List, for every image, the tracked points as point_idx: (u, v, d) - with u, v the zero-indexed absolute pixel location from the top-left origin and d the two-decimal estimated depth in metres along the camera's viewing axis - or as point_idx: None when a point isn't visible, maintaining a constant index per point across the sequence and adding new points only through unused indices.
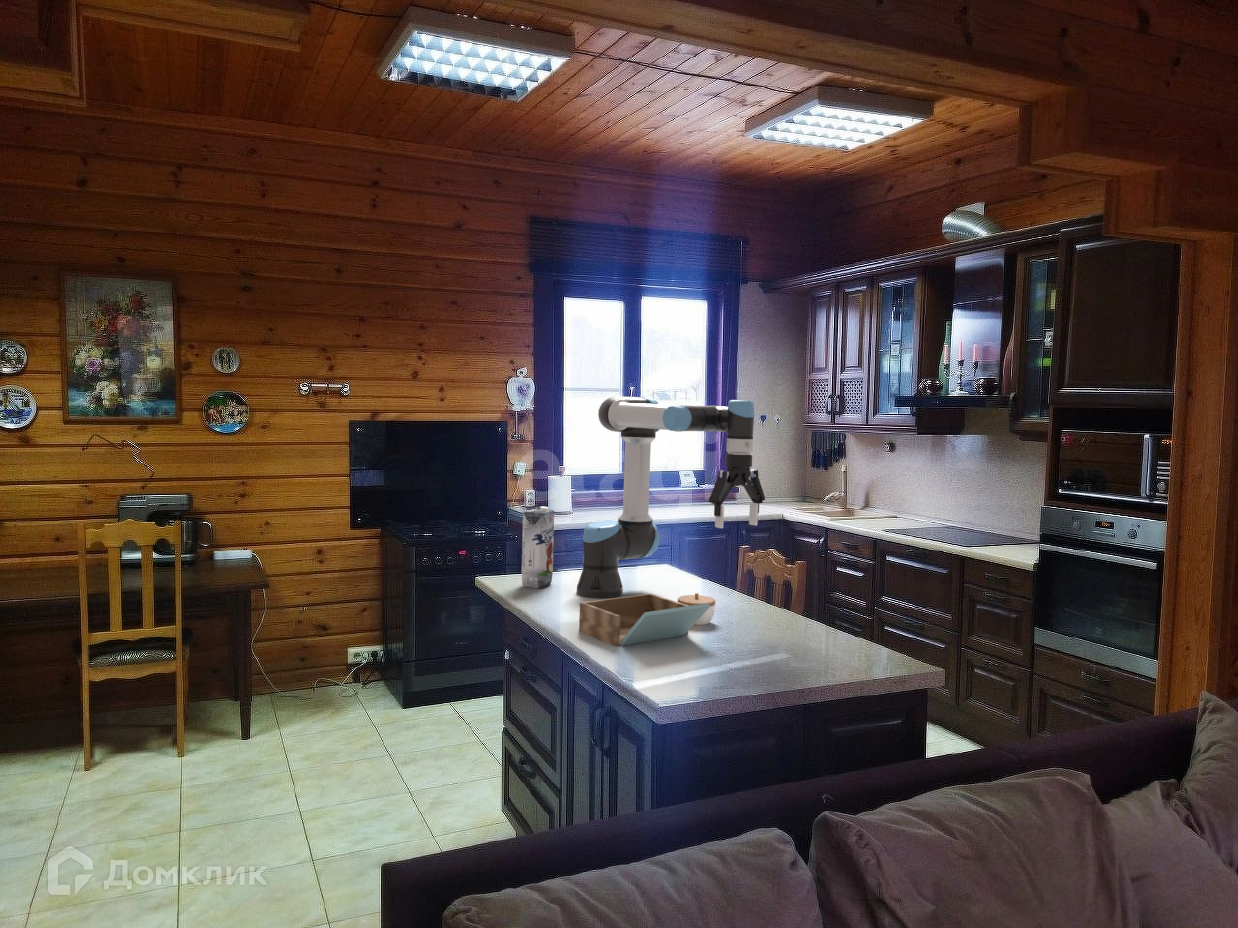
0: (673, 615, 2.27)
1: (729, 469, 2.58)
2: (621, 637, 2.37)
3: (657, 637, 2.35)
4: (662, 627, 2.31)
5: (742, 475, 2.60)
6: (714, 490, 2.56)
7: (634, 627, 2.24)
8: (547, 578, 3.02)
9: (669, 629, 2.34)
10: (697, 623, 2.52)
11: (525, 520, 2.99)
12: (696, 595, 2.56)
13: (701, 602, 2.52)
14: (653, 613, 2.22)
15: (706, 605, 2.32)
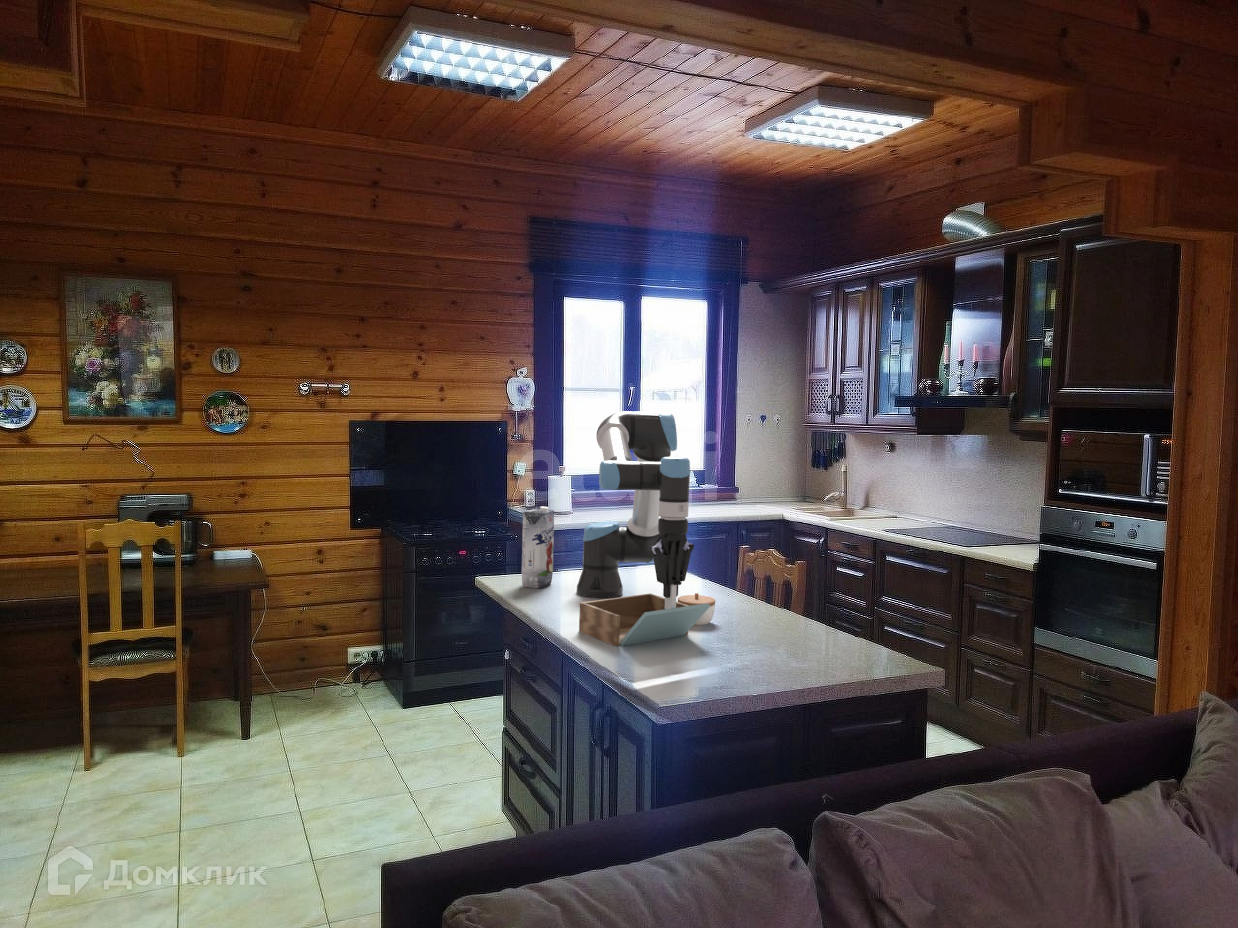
0: (673, 615, 2.27)
1: (661, 536, 2.26)
2: (621, 637, 2.37)
3: (657, 637, 2.35)
4: (662, 627, 2.31)
5: (677, 541, 2.28)
6: (657, 569, 2.26)
7: (634, 627, 2.24)
8: (547, 578, 3.02)
9: (669, 629, 2.34)
10: (697, 623, 2.52)
11: (525, 520, 2.99)
12: (696, 595, 2.56)
13: (701, 602, 2.52)
14: (653, 613, 2.22)
15: (706, 605, 2.32)
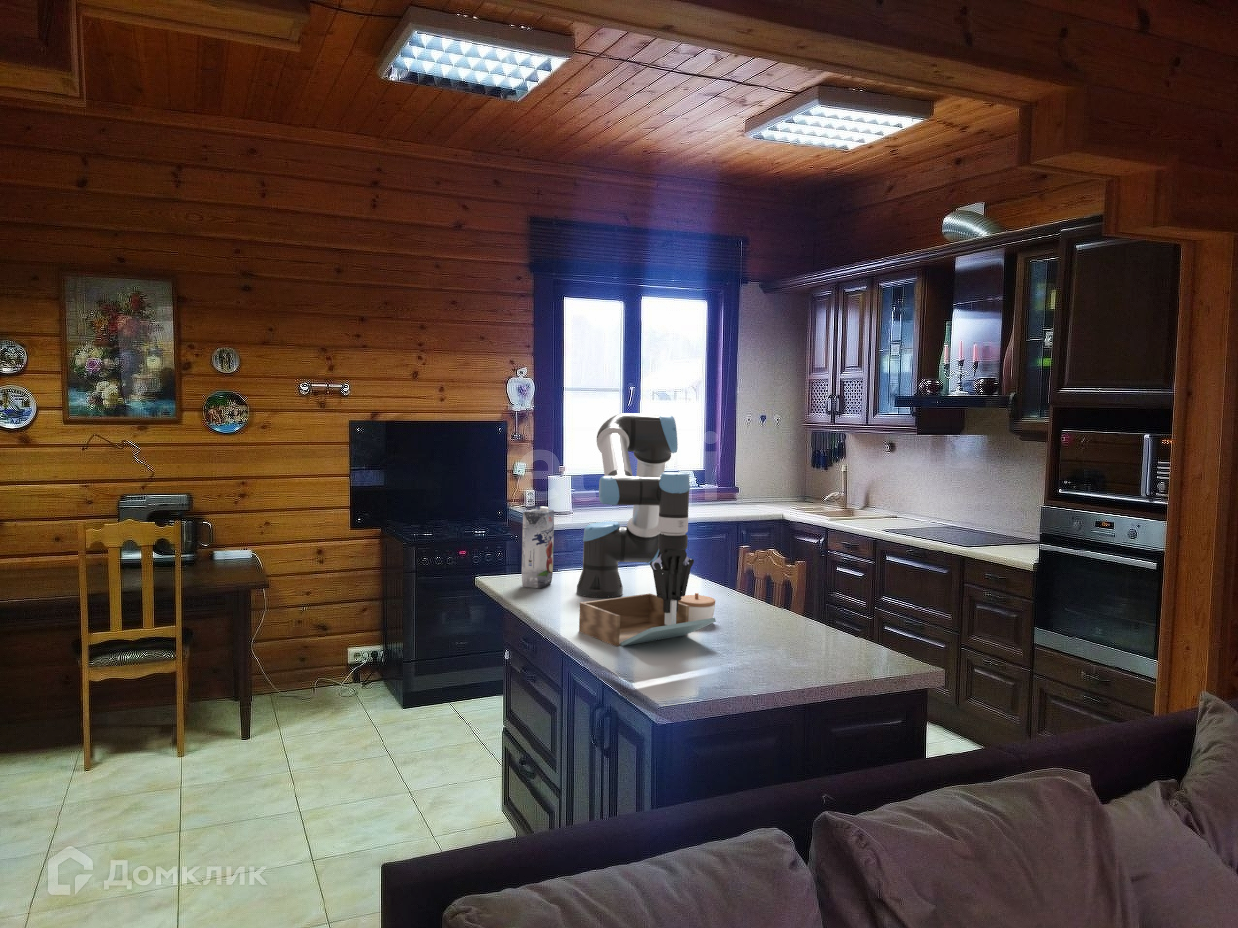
0: (678, 628, 2.26)
1: (661, 552, 2.26)
2: (621, 637, 2.37)
3: (657, 639, 2.35)
4: (664, 634, 2.30)
5: (677, 556, 2.28)
6: (657, 585, 2.26)
7: (637, 636, 2.23)
8: (547, 578, 3.02)
9: (671, 634, 2.33)
10: None
11: (525, 520, 2.99)
12: (696, 595, 2.56)
13: (701, 602, 2.52)
14: (659, 629, 2.20)
15: (712, 620, 2.30)
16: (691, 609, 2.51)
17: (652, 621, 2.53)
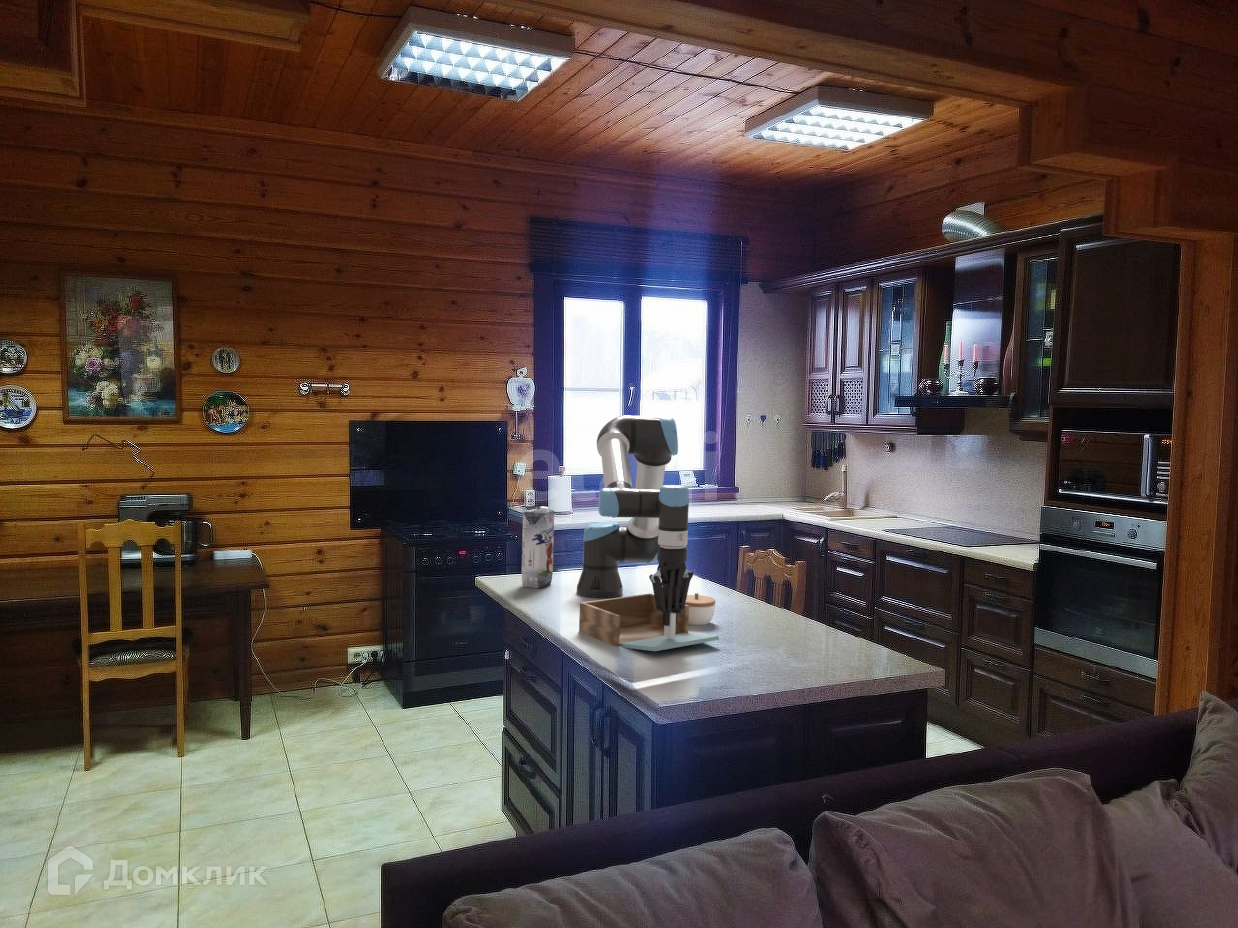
0: None
1: (660, 565, 2.26)
2: (621, 637, 2.37)
3: None
4: None
5: (676, 569, 2.28)
6: (656, 598, 2.27)
7: (639, 647, 2.23)
8: (547, 578, 3.02)
9: None
10: (697, 623, 2.52)
11: (525, 520, 2.99)
12: (696, 595, 2.56)
13: (701, 601, 2.52)
14: (662, 648, 2.19)
15: (715, 638, 2.30)
16: (691, 609, 2.51)
17: (652, 621, 2.53)
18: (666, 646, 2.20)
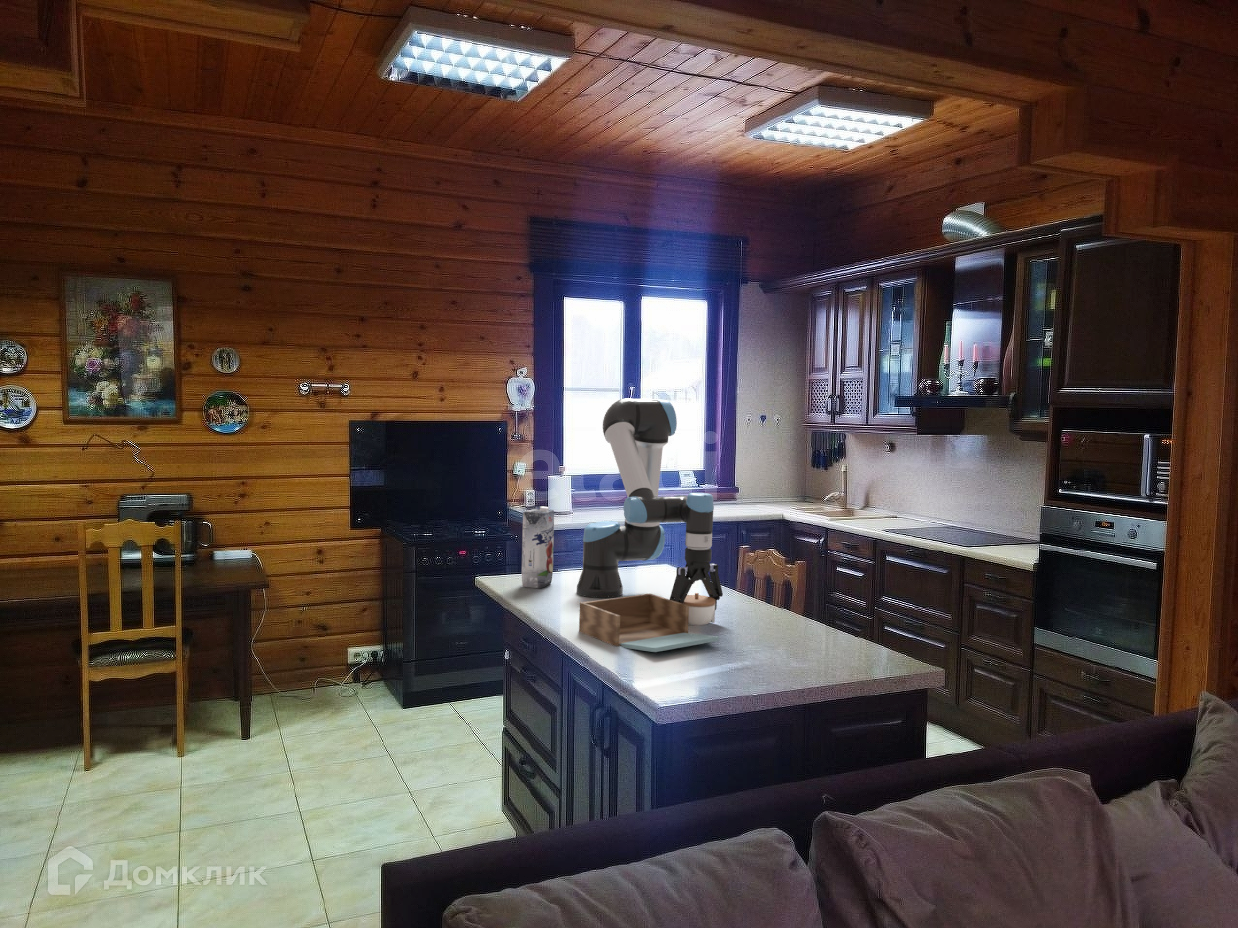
0: None
1: (688, 564, 2.53)
2: (621, 637, 2.37)
3: None
4: None
5: (701, 569, 2.55)
6: (674, 589, 2.51)
7: (639, 648, 2.23)
8: (547, 578, 3.02)
9: None
10: (697, 623, 2.52)
11: (525, 520, 2.99)
12: (696, 595, 2.56)
13: (701, 601, 2.52)
14: (662, 649, 2.19)
15: (715, 639, 2.30)
16: (691, 609, 2.51)
17: (652, 621, 2.53)
18: (666, 647, 2.20)
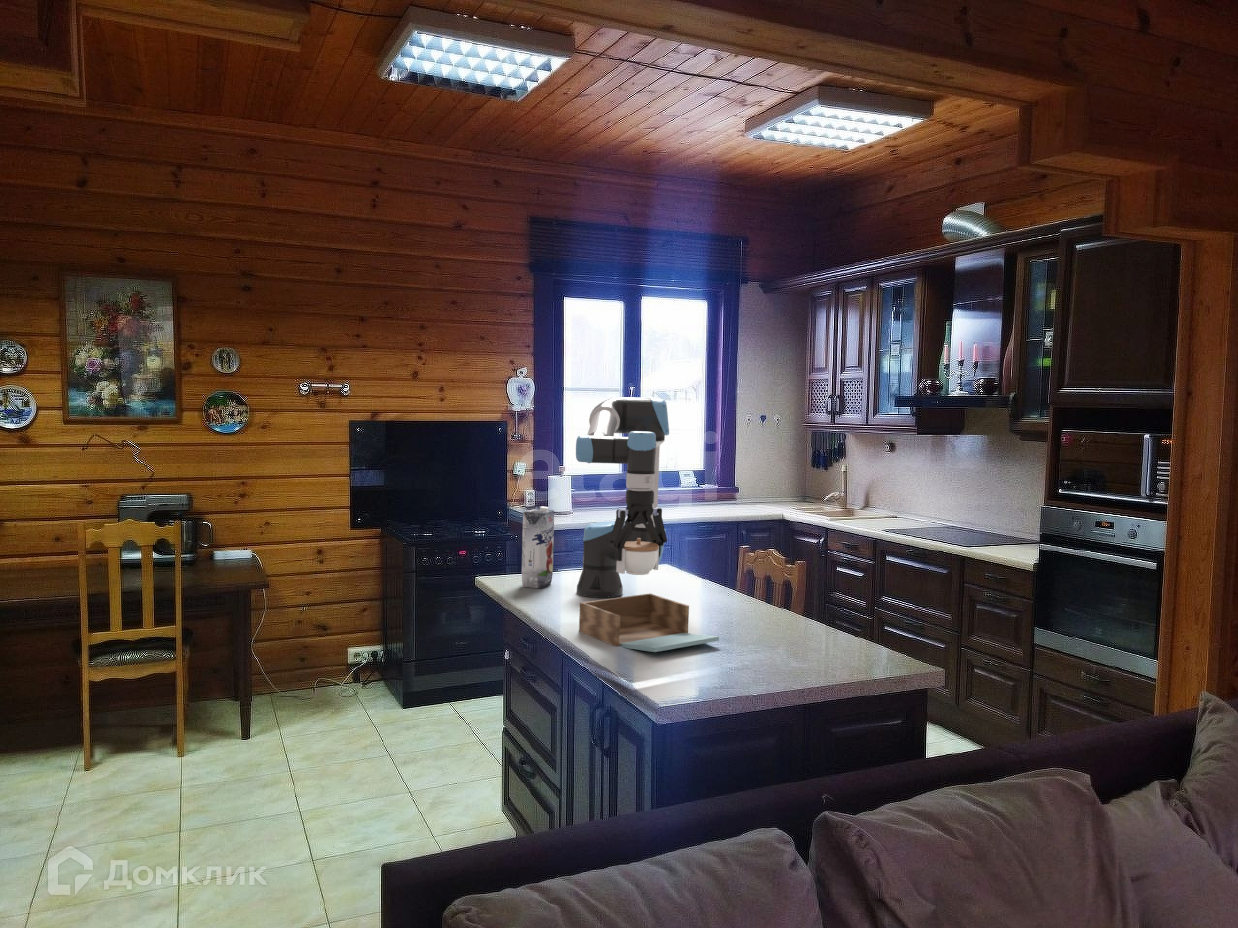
0: None
1: (628, 506, 2.38)
2: (621, 637, 2.37)
3: None
4: None
5: (643, 512, 2.39)
6: (613, 532, 2.36)
7: (639, 648, 2.23)
8: (547, 578, 3.02)
9: None
10: (638, 569, 2.37)
11: (525, 520, 2.99)
12: (638, 540, 2.40)
13: (643, 546, 2.37)
14: (662, 649, 2.19)
15: (715, 639, 2.30)
16: (632, 553, 2.36)
17: (652, 621, 2.53)
18: (666, 647, 2.20)
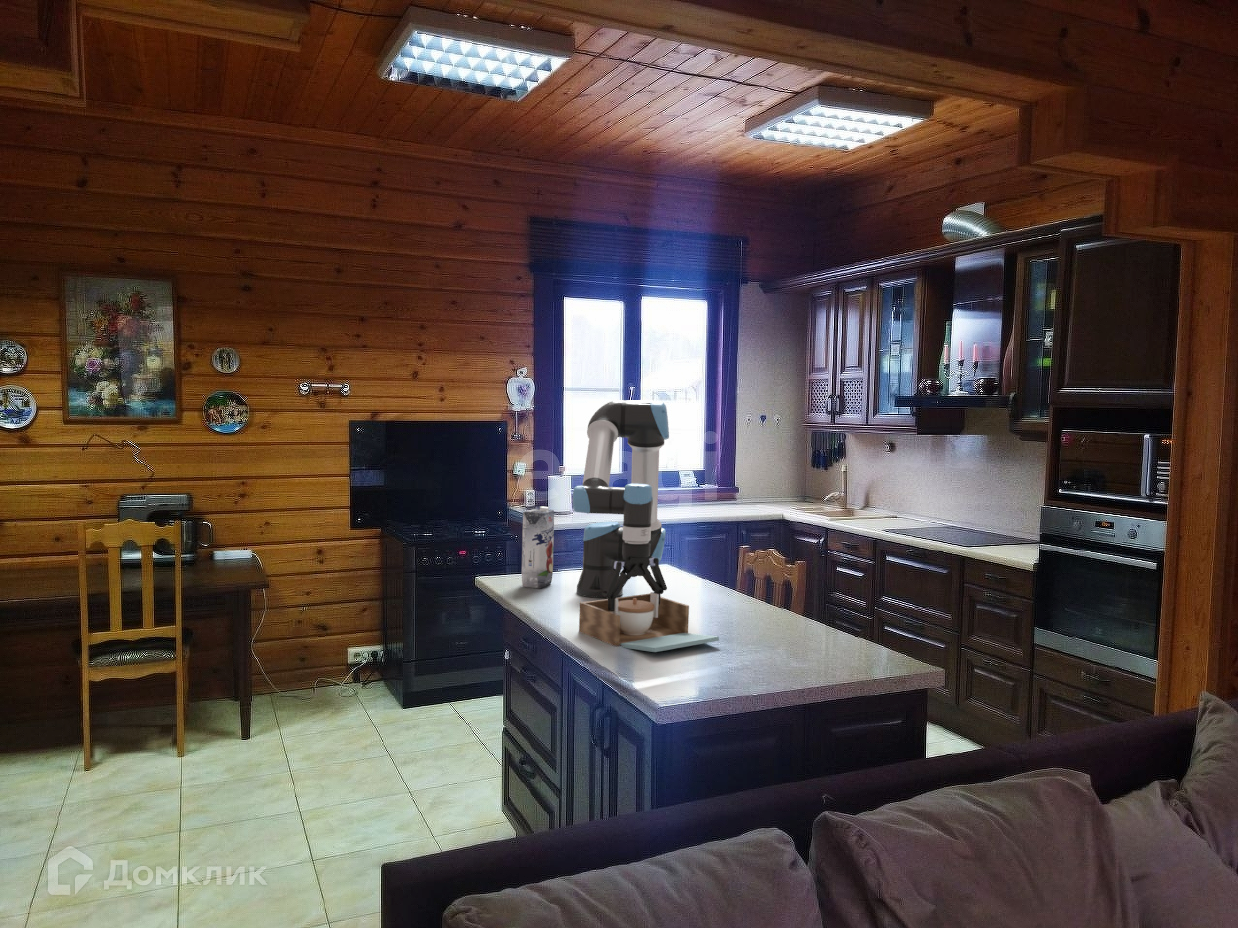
0: None
1: (625, 559, 2.38)
2: (621, 637, 2.37)
3: None
4: None
5: (639, 565, 2.40)
6: (607, 583, 2.36)
7: (639, 648, 2.23)
8: (547, 578, 3.02)
9: None
10: (634, 630, 2.38)
11: (525, 520, 2.99)
12: (634, 600, 2.41)
13: (639, 607, 2.37)
14: (662, 649, 2.19)
15: (715, 639, 2.30)
16: (627, 615, 2.37)
17: (652, 621, 2.53)
18: (666, 647, 2.20)
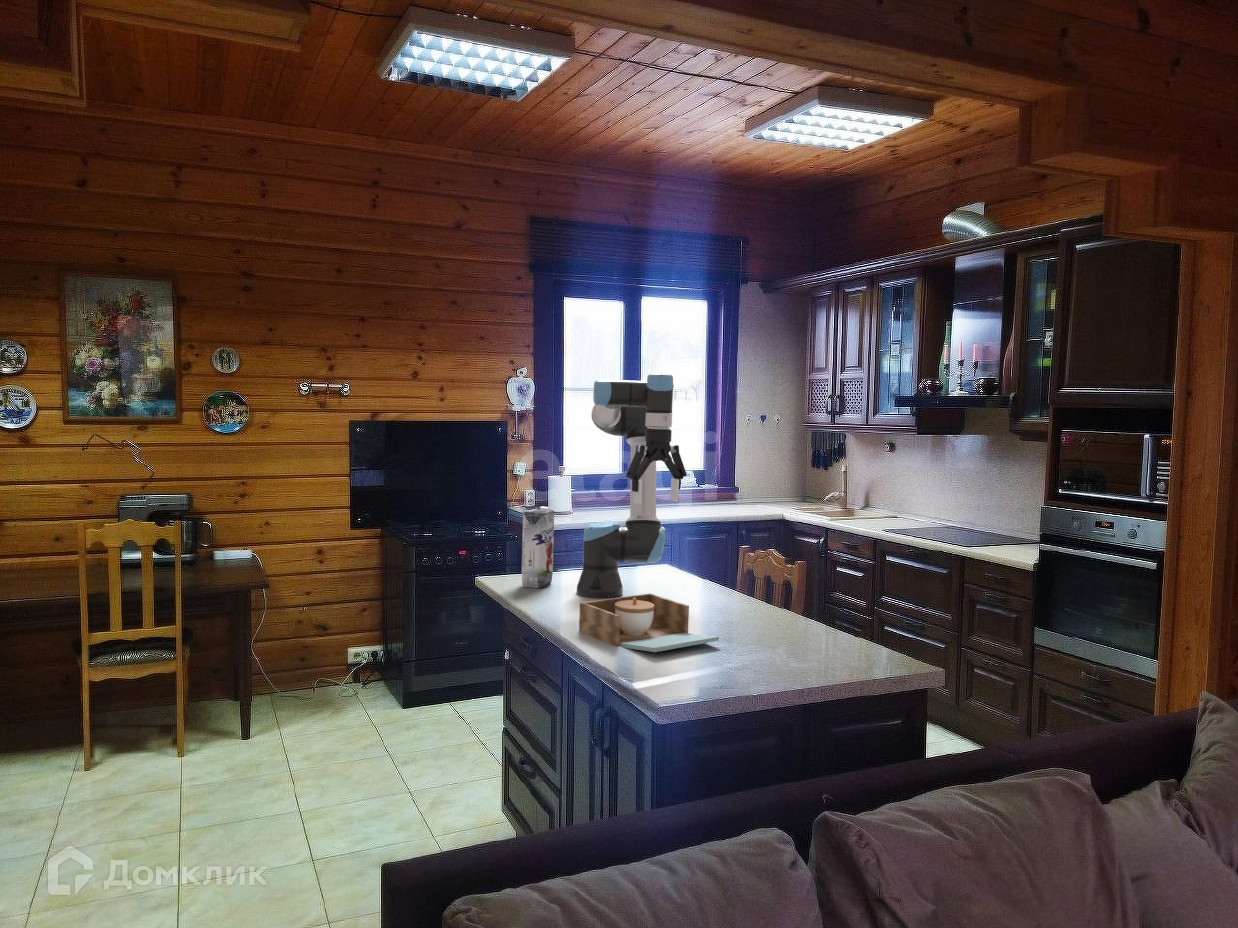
0: None
1: (647, 444, 2.54)
2: (621, 637, 2.37)
3: None
4: None
5: (661, 450, 2.56)
6: (631, 465, 2.52)
7: (639, 648, 2.23)
8: (547, 578, 3.02)
9: None
10: (634, 630, 2.38)
11: (525, 520, 2.99)
12: (634, 600, 2.41)
13: (639, 607, 2.37)
14: (662, 649, 2.19)
15: (715, 639, 2.30)
16: (627, 615, 2.37)
17: (652, 621, 2.53)
18: (666, 647, 2.20)
